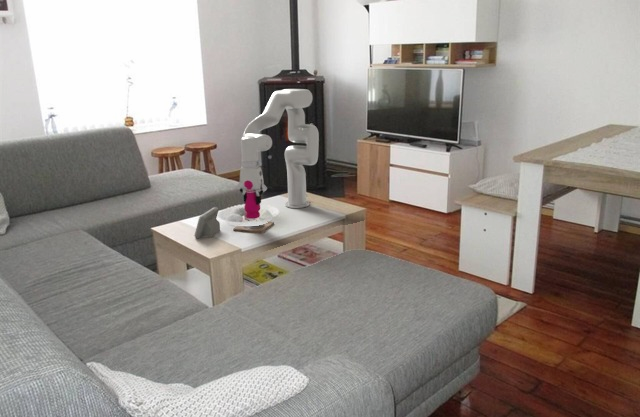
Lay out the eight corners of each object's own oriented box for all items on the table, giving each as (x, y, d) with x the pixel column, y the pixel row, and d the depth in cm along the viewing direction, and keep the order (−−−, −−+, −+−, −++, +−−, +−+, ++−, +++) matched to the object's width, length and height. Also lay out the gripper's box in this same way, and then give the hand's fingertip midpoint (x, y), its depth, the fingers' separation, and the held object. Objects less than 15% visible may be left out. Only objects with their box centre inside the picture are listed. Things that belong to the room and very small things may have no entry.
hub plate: (247, 221, 256) (247, 219, 256) (274, 224, 252) (273, 221, 251) (233, 230, 244) (233, 228, 243) (261, 233, 239) (261, 230, 239)
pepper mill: (241, 218, 245) (238, 175, 239) (251, 213, 251) (247, 172, 245) (255, 220, 242) (251, 176, 236) (263, 215, 248) (261, 173, 242)
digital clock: (211, 227, 249) (209, 205, 246) (227, 229, 245) (225, 207, 242) (188, 238, 235) (186, 215, 232) (205, 240, 232) (203, 217, 229)
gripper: (271, 163, 240) (273, 202, 245) (237, 161, 245) (239, 200, 250) (264, 167, 233) (266, 207, 238) (229, 165, 239) (231, 204, 244)
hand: (252, 203), depth 244 cm, fingers closed on pepper mill, 5 cm apart
